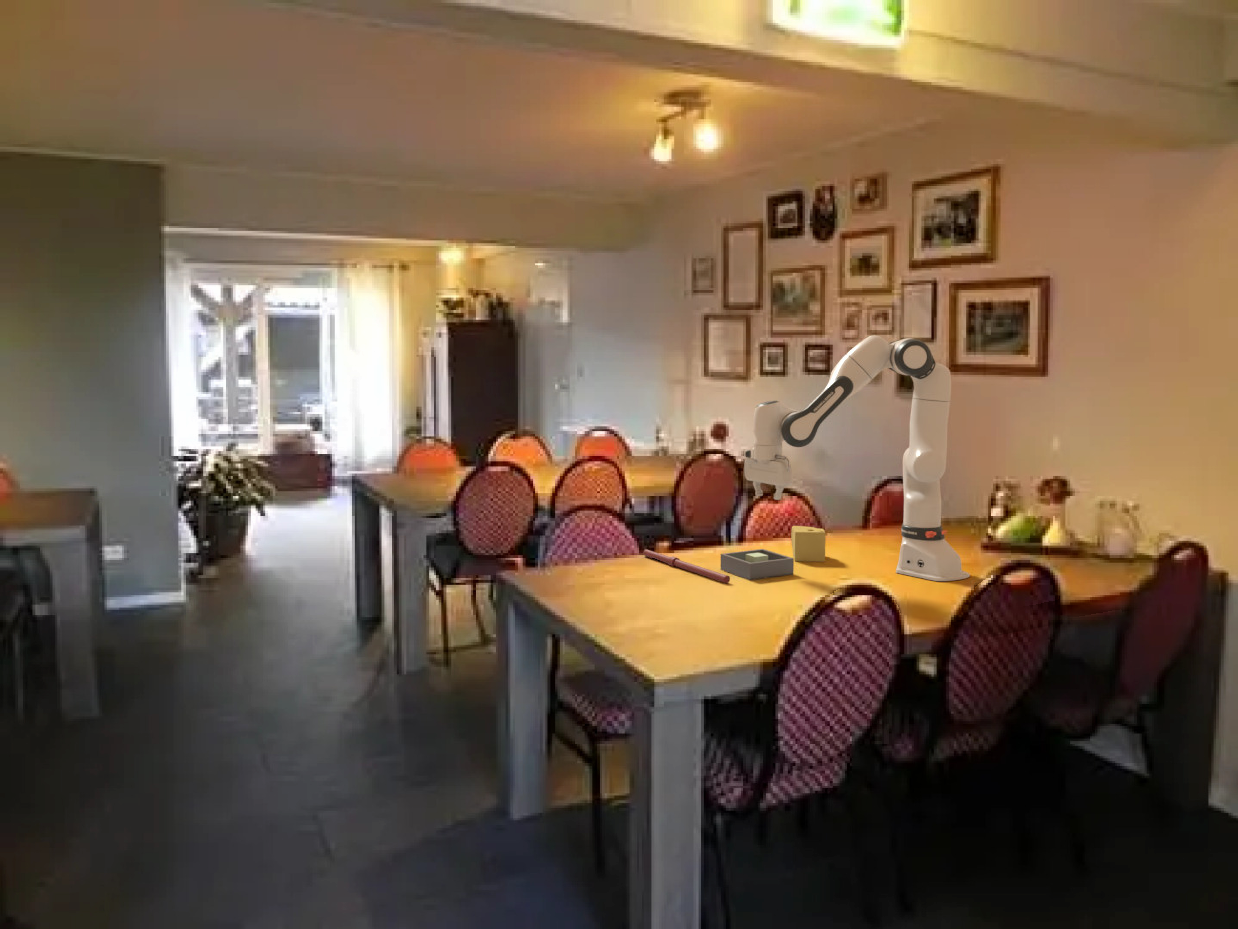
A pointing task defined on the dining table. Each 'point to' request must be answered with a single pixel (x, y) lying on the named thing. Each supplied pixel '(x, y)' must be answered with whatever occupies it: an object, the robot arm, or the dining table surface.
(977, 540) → the dining table surface
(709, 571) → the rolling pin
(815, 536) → the cheese
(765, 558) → the green cube
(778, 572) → the bin
